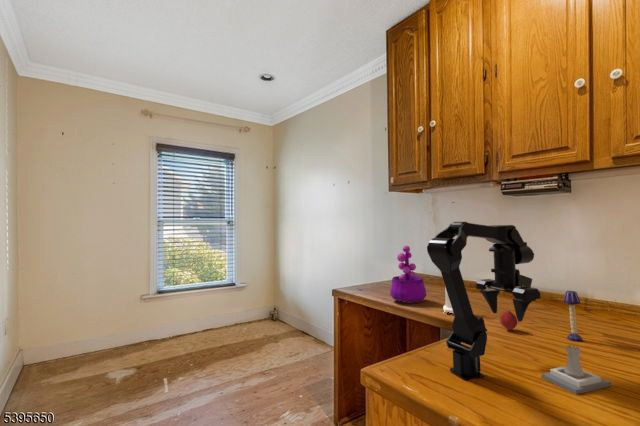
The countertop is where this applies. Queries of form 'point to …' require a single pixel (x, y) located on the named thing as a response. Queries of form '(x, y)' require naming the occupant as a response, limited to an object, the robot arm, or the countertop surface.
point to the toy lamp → (572, 314)
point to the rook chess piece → (574, 363)
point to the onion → (508, 320)
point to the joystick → (447, 304)
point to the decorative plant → (407, 281)
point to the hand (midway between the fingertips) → (507, 317)
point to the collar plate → (575, 381)
